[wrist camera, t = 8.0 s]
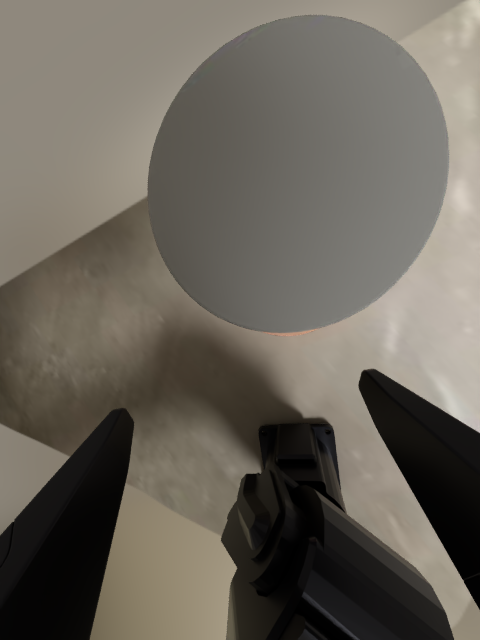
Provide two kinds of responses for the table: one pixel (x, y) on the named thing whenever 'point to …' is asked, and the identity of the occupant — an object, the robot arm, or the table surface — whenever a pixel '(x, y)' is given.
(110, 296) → the table surface
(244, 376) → the table surface
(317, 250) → the container
